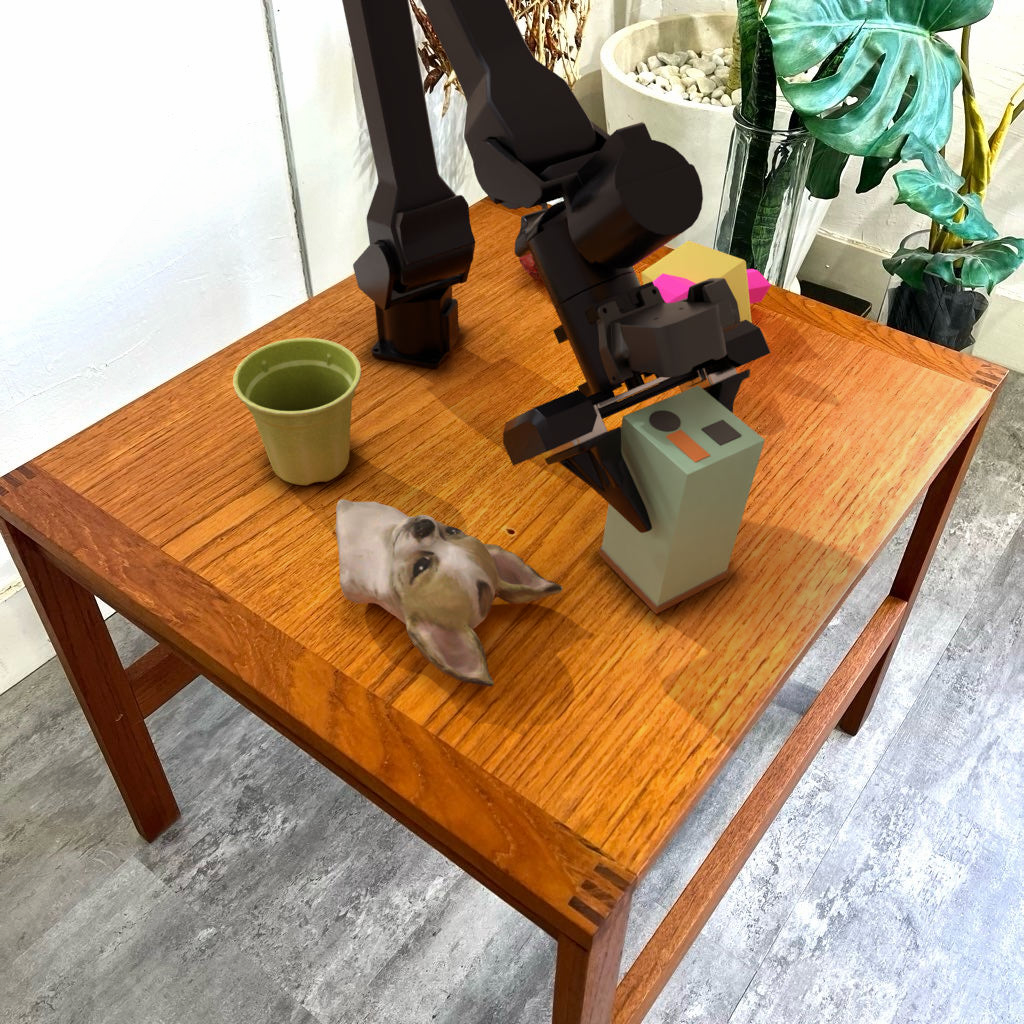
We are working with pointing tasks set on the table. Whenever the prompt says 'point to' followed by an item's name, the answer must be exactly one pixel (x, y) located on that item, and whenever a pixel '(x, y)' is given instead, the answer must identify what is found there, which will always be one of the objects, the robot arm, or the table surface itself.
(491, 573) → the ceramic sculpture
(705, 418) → the shape sorter
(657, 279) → the toy
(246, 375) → the plant pot
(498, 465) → the table surface
